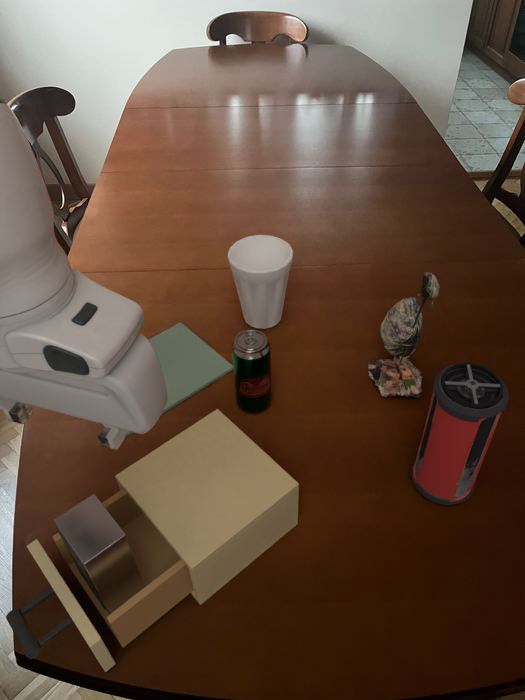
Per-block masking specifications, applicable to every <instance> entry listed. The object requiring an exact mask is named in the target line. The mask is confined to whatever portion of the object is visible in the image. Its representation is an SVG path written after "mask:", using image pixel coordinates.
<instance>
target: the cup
mask: <svg viewBox="0 0 525 700" xmlns="http://www.w3.org/2000/svg"><path fill="white" fill-rule="evenodd" d="M293 257H294V250H293V248H292V246H291V244H290V243H289V242H288V241H285V240H284V239H282V238H281V237H278V236H275V235H271V234H255V235H248V236H245V237H243V238H240V239H238V240H236V241H235V242H234V243H233V244H232V245H231V246H230V247H229V249H228V252H227V261H228V264H229V268H230V269H231V274H232V276H233V277H232V278H233V281H234V284H235V288H236V292H237V297H238V299H239V305H240V308H241V312H242V316H243V319H244V321H245V323H246V324H248V326H249V327H251V328H254V329H261V330H262V329H270V328H273V327H274V326H276V325H278V324H279V323H280V321H281V320H282V317H283V316H282V315H283V309H284V304H285V298H286V292H287V287H288V283H289V282H288V281H289V275H290V271H291V269H292V263H293Z"/></svg>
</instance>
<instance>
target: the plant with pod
mask: <svg viewBox="0 0 525 700" xmlns="http://www.w3.org/2000/svg"><path fill="white" fill-rule="evenodd" d="M420 289H421V291H420V293H417V296H421V298H422V299H421V305H420V304H419V301H418V299H417V298H416V297H413V296H409V297H405V298H402V299H401V300H400V301H397V303H395V304H394V305H393V306H392V307H391V308H390V309H389V310H388V312H386V315H385V316H384V318H383V321H382V322H381V324H380V331H379V332H380V338H381V340H382V343H383V348H384V349H385V350H386V351H387V352H388V354H389V355H391V356H393V358H388V359H386V358H384V359H375V358H374V359H372V360H369V361H368V362H367V368H368V371H367V373H368V376H369V378H370V379H371V380H372V381H373V382H375V383H374V385H375V386H377V387H378V390H379V392H380V396H382V397H385V398H388V397H389V398H391V397H397V395H398V396H399V397H400V396H402V397H403V396H405V398H408V397H413V398H417V399H419V398H420V397H421V396H423V390H422V380H423V379H422V378H423V376H422V372H421V371H420V369H419V367H417V366H414V364H413V362H412V361H410V359H409V358H410V356H412V355H413V354H414V353H416V350H417V349H418V344H419V341H420V339H421V335H422V331H423V325H424V322H423V312H422V310H423V308H424V306H425V304H426V302H427V300H429V302H430V307H431V309H432V310H434V309H435V306H434V301H435V299H437V297H438V296H439V292H440V283H439V281H438V279H437V277H436V275H434V273H432V272H427V271H425V272H423V274H422V280H421V287H420Z"/></svg>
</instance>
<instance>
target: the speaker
mask: <svg viewBox="0 0 525 700" xmlns="http://www.w3.org/2000/svg"><path fill="white" fill-rule="evenodd" d="M432 387H433V390H432V395H431V398H430V402H429V403H430V404H429V407H428V412H427V415H426V419H425V423H424V427H423V431H422V435H421V439H420V443H419V446H418V450H417V452H416V457H415V459H414V461H413V464H412V467H411V471H410V472H411V474H410V477H411V481H412V483H413V486H414V487H415V489H416V490H417V491H418V493H419V494H421V495H422V496H423V497H424V498H426V499H427V500H429V501H431V502H434V503H436V504H440V505H444V506H445V505H446V506H453V505H458V504H460V503H463V502H465V501H466V500H468V499H469V498H470V497H471V495H472V494H473V492H474V489H475V486H476V482H477V477H478V475H479V472H480V470H481V467H482V465H483V462H484V459H485V456H486V454H487V452H488V449H489V446H490V443H491V441H492V439H493V436H494V434H495V431H496V428H497V426H498V423H499V420H500V418H501V415H502V413H504V412H505V410H506V408H507V406H508V403H509V399H510V398H509V397H510V393H509V389H508V387H507V384H506V383H505V382H504V380H503V379H502V378H501V377H500V376H499V375H498V374H496V373H495V372H494V371H492V370H491V369H489V368H488V367H486V366H483V365H480V364H477V363H473V362H461V363H453V364H450V365H446V366H445V367H443V368H441V369H440V370H439V371H438V372H437V373H436V375H435V377H434V379H433V383H432Z"/></svg>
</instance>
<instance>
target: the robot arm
mask: <svg viewBox="0 0 525 700" xmlns="http://www.w3.org/2000/svg"><path fill="white" fill-rule="evenodd" d="M144 323H145V313H144V311H143V308H142V307H141V305H140V304H139V303H137V302H136V301H135V300H132V299H130V298H128V297H126V296H124V295H121V294H119V293H117V292H116V291H113V290H111V289H109V288H107V287H105V286H103V285H101V284H99V283H98V282H97V281H95V280H92V279H91V278H90V277H87V275H85V274H84V273H82V272H81V271H79V270H77V269H75V268H72V267H71V263H70V260H69V258H68V255H67V254H66V252H65V250H64V249H63V247H62V246H61V245H60V243H59V242H58V240H57V238H56V234H55V212H54V208H53V204H52V201H51V199H50V195H49V192H48V188H47V186H46V183H45V181H44V177H43V174H42V172H41V169H40V167H39V164H38V161H37V158H36V156H35V153H34V151H33V149H32V146H31V144H30V141H29V139H28V137H27V135H26V133H25V131H24V129H23V127H22V124H21V123H20V121H19V119H18V117H17V116H16V114H15V112H14V111H13V109H12V108H11V106H10V105H8V104H7V102H6V101H4V100H3V99H1V98H0V410H1V411H3V412H4V415H5V416H6V419H7V420H8V421H9V422H13V423H16V424H21V425H26V423H27V422H28V419H30V418H31V417H32V416H33V414H34V408H33V407H35V408H40V409H44V410H47V411H51V412H54V413H59V414H62V415H67V416H71V417H74V418H77V419H81V420H86V421H89V422H93V423H97V424H102V425H103V428H101V429H100V430H99V432H98V433H97V438H98V441H100V443H99V444H100V446H101V447H105V448H108V449H111V450H115V451H117V450H119V448H120V447H121V445H122V444H123V442H124V441H125V439H126V437H125V432H124V430H127V431H131V432H133V433H134V434H138V435H143V434H146V433H147V432H149V431H150V430H151V429H152V428H153V427H154V426H155V425H156V423H157V422H158V420H159V419H160V417H162V415H163V414H162V412H163V410H164V408H165V406H166V403H167V389H166V385H165V380H164V376H163V373H162V369H161V366H160V363H159V360H158V357H157V354H156V352H155V349H154V348H153V346H152V344H151V343H150V341H149V339H148V338H147V337H146V336H145V335H144V334H143V333H141V332H140V331H141V329H142V327H143V325H144ZM161 414H162V415H161Z"/></svg>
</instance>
